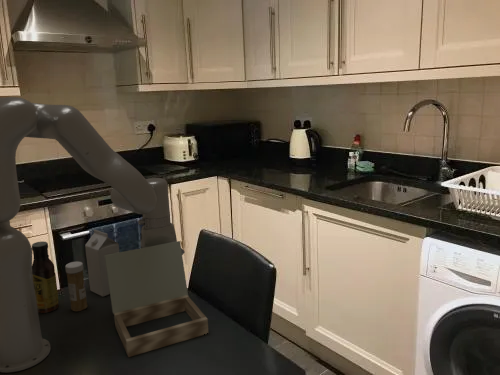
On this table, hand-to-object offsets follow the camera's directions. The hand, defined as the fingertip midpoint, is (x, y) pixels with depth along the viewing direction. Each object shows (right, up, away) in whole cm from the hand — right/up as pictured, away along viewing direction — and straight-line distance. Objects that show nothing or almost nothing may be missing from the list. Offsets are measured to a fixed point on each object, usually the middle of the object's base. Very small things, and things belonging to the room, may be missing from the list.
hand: (161, 279), depth 130 cm
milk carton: (-18, -5, +6) cm, 20 cm away
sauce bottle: (-31, -8, -5) cm, 33 cm away
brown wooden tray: (+3, -10, -17) cm, 20 cm away
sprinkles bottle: (-23, -7, -5) cm, 24 cm away
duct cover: (-1, +3, -12) cm, 12 cm away
